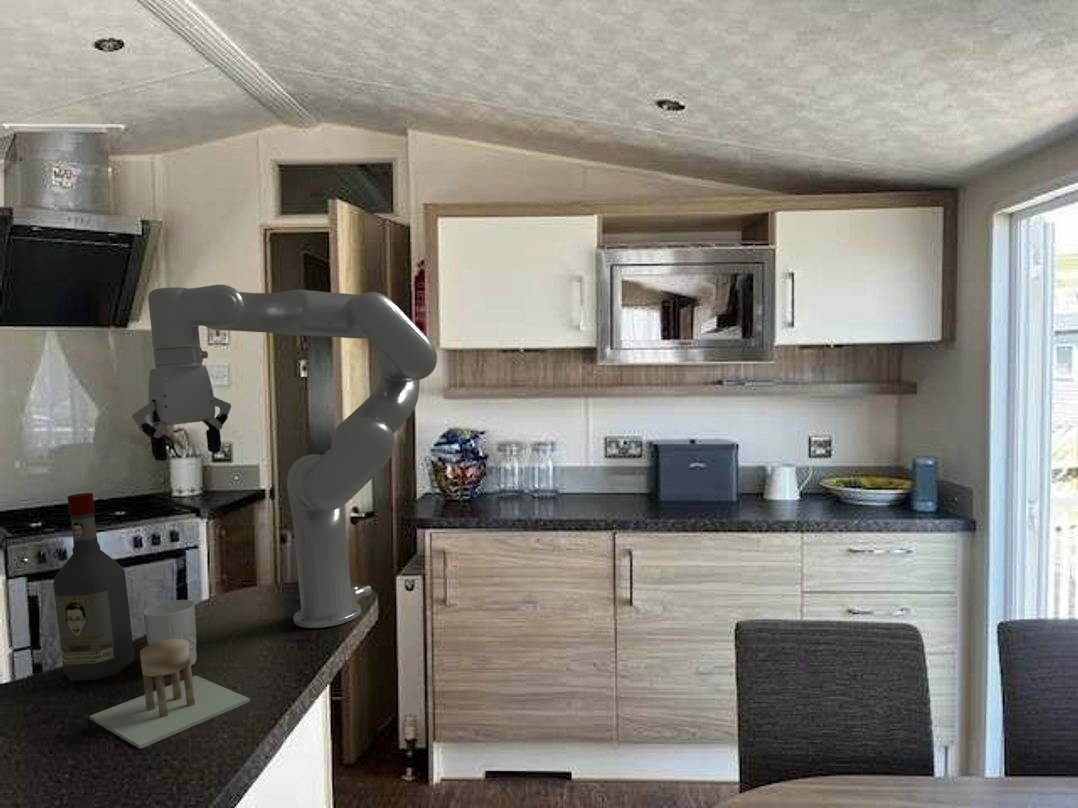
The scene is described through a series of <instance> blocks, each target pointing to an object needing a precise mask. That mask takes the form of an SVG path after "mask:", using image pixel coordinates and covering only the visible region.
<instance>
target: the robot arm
mask: <svg viewBox="0 0 1078 808" xmlns="http://www.w3.org/2000/svg"><path fill="white" fill-rule="evenodd" d="M147 298H148V300H147V301H148V310H149V312H148V313H149V319H150V321H149V322H150V329H151V338H152V348H153V358H154V366H155V368H150V369H149V377H148V378H149V379H148V403H147V404H146V405H144V406H143V407H141V408H139V409H138V410H137V411H135V412H134V413H132V414H131V418H132V420H133V421H134V422H135V424H136V425H137V426H138V429H139V430H140V431H141V432H143V433H144V434H145V435H146V436H147V437H148V438H150V445H151V453H152V456H153V457H154V460H155V461H160V462H164V461H167V460H168V453H167V443H166V438H165V437H163V434H164V433H165V431H166V429H167V428H168V426H175V425H184V424H192V423H200V422H202V423H203V424H204V425H205V426H206V427H208V429H206V431H205V433H206V435H205V436H206V443H207V444H206V445H207V451H208V452H209V453H220V452H221V446H222V440H221V439H222V438H221V430H222V428H223V426H224V424H225V423H226V421H227V420H228V418H229V417H228V416H229V413H230V411H231V408H232V405H231V403H230V402H227V401H225V400H223V399H220V398H218V397H215V395H214V391H213V390H214V389H213V385H212V382H211V381H212V380H211V377H210V374H209V372H208V369H207V366H206V364H204V365H203V362H204V359H208V357H209V352H208V351H206V350H202V347H201V341H200V339H201V338H200V331H199V329H200V328H199V326H200V327H205V328H207V329H210V330H217V331H231V332H232V331H233V332H250V333H270V334H271V333H272V334H280V335H285V336H286V335H288V336H307V337H308V336H309V337H327V338H328V337H329V338H341V339H342V338H343V339H345V338H346V339H363V340H364V339H368V340H369V341H370V342H371V343H372V344H373V346H375V347H376V348H377V349H378V350H379V351H380V352H379V358H378V359H379V360H378V362H379V369H380V377H379V378H380V379H379V383H378V384H377V387H376V388H375V389H374V391H372V393H371V394H370V395H369V396H368V397H367V399H365V401H363V402H362V404H360V405H359V406H358V407H357V408H356V409H355V410H354V411H353V412H351V414H349V416H347V417H346V418H345V419H344V420H343V421H341V422H340V423H339V424H338V425H337V427H336V428H335V430H334V431H333V433H332V436H331V447H330V448H329V449H327V451H325V453H323V455H322V454H317V453H316V454H315V453H313V454H312V453H310V454H307V455H303V456H302V457H299V458H298V459H297V460H296V461H295V462H294V463H292V465H291V467H290V468H289V470H288V473H287V479H286V487H287V489H286V490H287V495H288V500H289V506H290V513H291V519H292V526H293V535H294V536H293V537H294V548H295V556H296V557H295V558H296V568H297V569H296V570H297V579H298V589H299V599H300V608H301V609H298V610H297V612H295V613H294V615H292V616H293V617H292V618H293V623H294V625H296V626H298V627H300V628H306V629H307V628H308V629H319V628H320V629H321V628H329V627H334V626H339V625H342V624H345V623H347V622H348V623H349V622H351V621H353V620H355V619H356V618H357V617H359V616H360V615H361V613H362V607H361V604H359V603H358V601H360V599H361V598H364V597H368V596H370V595H371V594H372V593H373V591H372V588H371V586H370V585H369V584H368V585H365V586H362V587H359V588H358V587H357V586H353V587H351V578H350V566H349V565H350V564H349V556H348V555H349V554H348V542H347V530H346V521H345V520H346V519H345V515H344V514H345V513H344V508H343V506H345V505H346V504H347V503H349V502H350V501H351V499H353V497H355V496H356V495H357V494H358V493H359V492H360V491H361V490H362V489H363V488H364V487H365V486H366V485H367V484H368V483H369V482H370V481H371V480H372V479H373V478H374V477H375V476H376V475H377V474H378V473H379V472H380V471H381V470H382V469H383V468H384V467H385V466H386V464H387V463H388V461H389V460H390V458H391V457H392V455H393V453H394V449H395V435H394V434H395V433H396V432H397V431H398V429H400V428H401V426H402V425H403V424H404V423H405V421H407V419H408V418H410V416H411V415H412V413H413V412H414V411H415V409H416V406H417V404H418V400H419V396H420V386H421V385H420V383H421V381H420V380H423V379H425V378H427V377H429V376H430V375H432V373H433V372H434V370H435V368H436V366H437V363H438V354H437V350H436V347H435V346H434V344H433V343H432V341H431V340H430V339H429V337H427V336H426V334H424V332H423V331H422V330H421V329H420V328H419V327H418V326H417V325H416V324H415V323H414V322H413V321H412V320H411V319H410V318H409V317H408V316H407V315H406V314H405V312H403V310H402V309H401V308H400V307H399V306H398V305H397V304H396V303H395V302H394V301H392V300H391V299H390V298H389V297H388V296H386V295H384V294H383V293H380V292H377V291H370V292H365V293H362V294H357V293H355V294H353V293H340V292H328V291H319V290H310V289H309V290H308V289H293V290H291V289H290V290H286V291H278V292H247V291H246V292H245V291H243V292H242V291H239V290H237V289H236V288H234V287H233V286H230V285H227V284H212V285H206V286H201V287H189V288H188V287H181V286H180V287H178V286H177V287H175V286H174V287H172V286H171V287H170V286H169V287H160V288H154V289H152V290H151V291H150V292H149V293H148V296H147ZM216 407H217V408H219V413H218V414H217V415H216ZM147 416H149V421H150V422H151V424H152V425H151V424H149V423H148V422H147V419H146V417H147Z"/></svg>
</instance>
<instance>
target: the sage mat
mask: <svg viewBox="0 0 1078 808" xmlns="http://www.w3.org/2000/svg"><path fill="white" fill-rule="evenodd" d="M192 681H193V690H194V699H195V704H194V705H193V706H187V702H186V693H185V684H184V679H182V680H180V686H181V695H182V698H181V699H179V700H174V697H173V688H172V684H170V685H167V686H165V691H166V700H167V709H168V716H166V717H160V715H159V706H158V697H157V689H156V690H153V693H154V702H155V709H154V710H151V711H147V707H146V698H145V694H143V695H140V696H138V697H136V698H135V697H134V698H133V699H130V700H128V701H125V702H122V703H120V704H117V705H115V706H112V707H109V708H107V709H105V710H102V711H100V712H96V713H93V714H91V715H89V720H91V721H92V722H94V723H96V724H97V725H99V726H101V727H103V728H105V729H106V730H107V731H110V733H113V734H114V735H116V736H118V737H120V739H122V740H124V741H126V742H128V743H129V744H131V745H132V746H134V747H136V748H137V749H139V750H140V749H143V748H146V747H148V746H150V745H152V744H155V743H157V742H160V741H162V740H164V739H166V738H169V737H171V736H174V735H176V734H178V733H181V732H183V731H185V730H188V729H190V728H192V727H194V726H197V725H199V724H202V723H204V722H206V721H209V720H211V719H213V718H216V717H217V716H220V715H223V714H224V713H227V712H230V711H232V710H234V709H236V708H239V707H240V706H243V705H246V704H248V703H251V699H250V697H248V696H245V695H243V694H240V693H238V692H236V691H234V690H231V689H229V688H226V687H223V686H221V685H219V684H217V683H214V682H212V681H210V680H207V679H205V678H202V677H200V676H198V675H194V676H193V675H192Z"/></svg>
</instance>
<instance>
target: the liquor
mask: <svg viewBox="0 0 1078 808" xmlns="http://www.w3.org/2000/svg"><path fill="white" fill-rule="evenodd" d="M67 504H68V505H67V506H68V513H69V516H70V522H71V523H70V524H71V531H72V532H71V533H72V541H73V542H72V543H73V547H72V550H71V551H72V553H71V555H70V557H69V558H68V559H67V560H66V562H65V563H64V564H63V566H62V567H61V569H59V571H58V572H57V573H56V575H55V576H54V580H53V583H52V584H53V585H52V586H53V595H54V600H55V601H54V602H55V611H56V619H57V627H58V635H59V643H60V645H59V646H60V651H61V661H62V668H63V669H62V671H63V673H64V675H65V676H66V677H67V678H68V679H69V680H70V682H75V681H76V682H77V681H97V680H102V679H106V678H109V677H112V676H116V675H118V674H119V673H120V672H121V671H123V670H124V669H126V668H127V667H129V666H130V665H131V664H132V663H133V661H134V659H135V651H134V642H133V641H134V640H133V632H132V625H131V624H132V623H131V614H130V605H129V597H128V588H127V579H126V572H125V569H124V568H123V566H122V565H121V564H120V563H119V562H118V561H116V560H115V559H114V558H112V557H111V556H110V555H108V554H107V553H105V552H104V551H103V550H102V549H101V545H100V543H99V540H98V535H97V528H96V519H95V513H94V512H96V511H95V504H94V495H93V492H85V493H84V492H82V493H76V494H72V495H68V496H67Z"/></svg>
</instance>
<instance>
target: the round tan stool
mask: <svg viewBox="0 0 1078 808" xmlns="http://www.w3.org/2000/svg"><path fill="white" fill-rule="evenodd" d="M139 654H140V663H141V671H142V672H141V673H142V679H143V681H142V682H143V687H144V688H143V689H144V695H145V698H146V707H147V711H151V710H154V709H155V702H154V693H153V692H154V685H153V677H155V687H156V690H157V697H158V706H159V715H160V717H166V716H168V709H167V700H166V691H165V687H166V684H165V676H166V675H167V676H168V675H170V677H171V685H172V688H173V697H174V700H179V699H181V698H182V695H181V686H180V681H181V680H180V679H181V678H180V672H181V671H182V672H183V680H184V684H185V693H186V702H187V706H193V705H194V704H195V699H194V690H193V681H192V677H193V673H192V665H191V664H190V653H189V644H188V641H187V640H184V639H170V640H164V641H160V642H156V643H153V644H151V645H146V646H144V647H143V648H141V650H140V652H139Z"/></svg>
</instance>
